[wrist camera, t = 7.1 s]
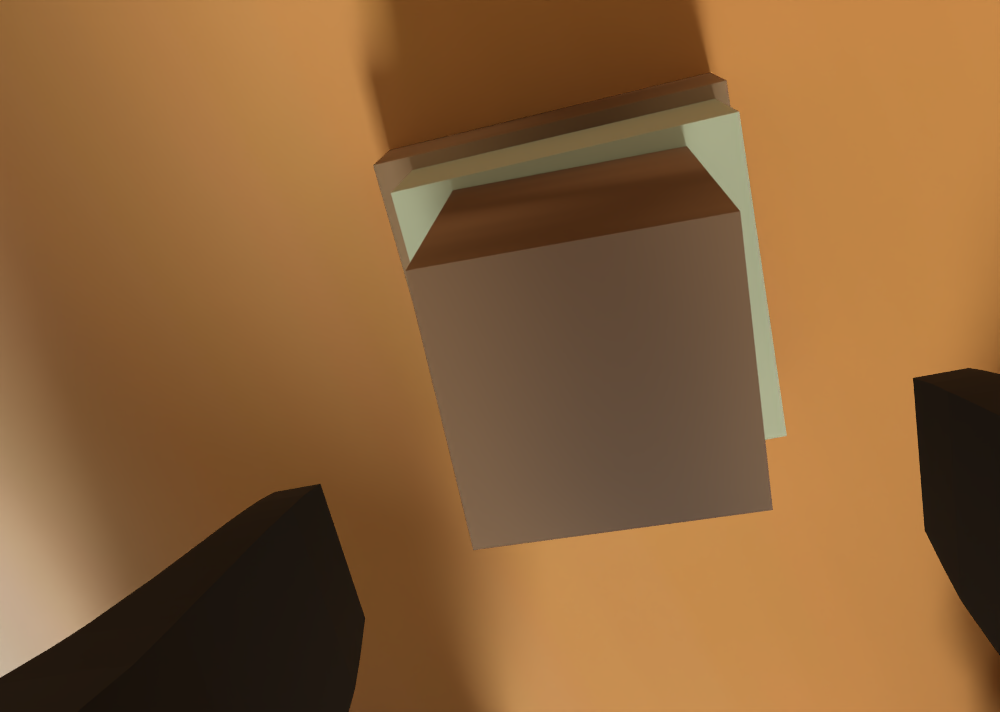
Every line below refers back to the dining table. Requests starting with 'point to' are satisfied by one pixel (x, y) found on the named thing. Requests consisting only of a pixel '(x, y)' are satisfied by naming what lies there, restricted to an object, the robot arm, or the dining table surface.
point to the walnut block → (593, 350)
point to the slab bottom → (537, 133)
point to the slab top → (695, 126)
